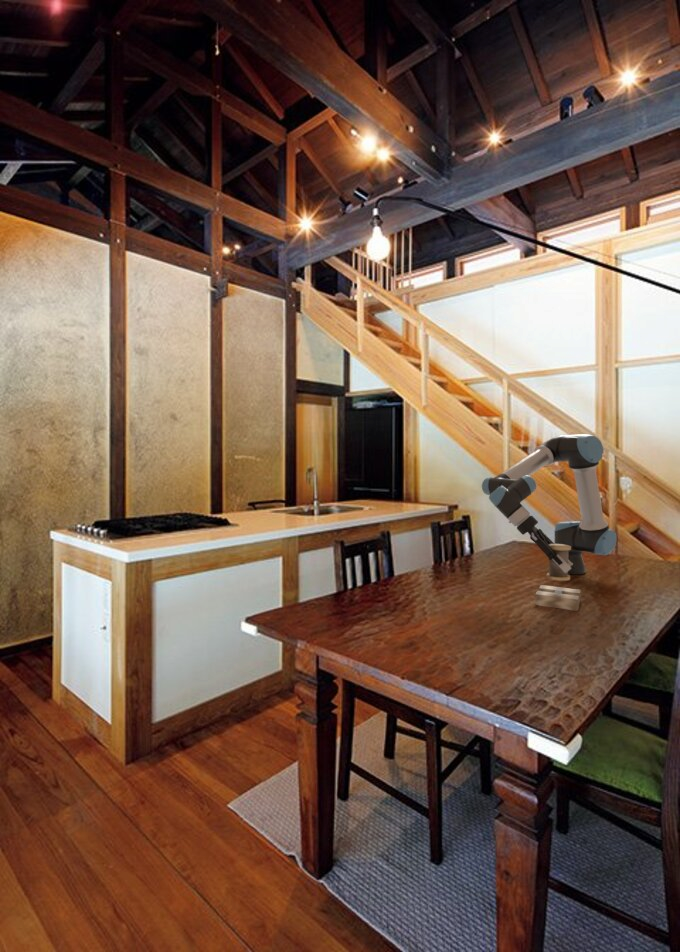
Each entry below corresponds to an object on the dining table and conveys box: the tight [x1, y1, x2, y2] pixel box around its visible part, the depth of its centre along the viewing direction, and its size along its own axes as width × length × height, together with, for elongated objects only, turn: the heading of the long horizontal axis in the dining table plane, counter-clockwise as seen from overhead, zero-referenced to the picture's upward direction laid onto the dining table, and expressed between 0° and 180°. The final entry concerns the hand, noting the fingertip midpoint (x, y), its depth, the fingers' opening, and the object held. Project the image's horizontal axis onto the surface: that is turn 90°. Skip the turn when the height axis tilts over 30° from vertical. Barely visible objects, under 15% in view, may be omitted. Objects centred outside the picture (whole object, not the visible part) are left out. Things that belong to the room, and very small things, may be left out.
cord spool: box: [546, 543, 571, 582], centre depth 184 cm, size 8×8×12 cm
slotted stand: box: [534, 584, 582, 612], centre depth 184 cm, size 14×14×4 cm
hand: (569, 568), depth 182 cm, fingers closed on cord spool, 6 cm apart
